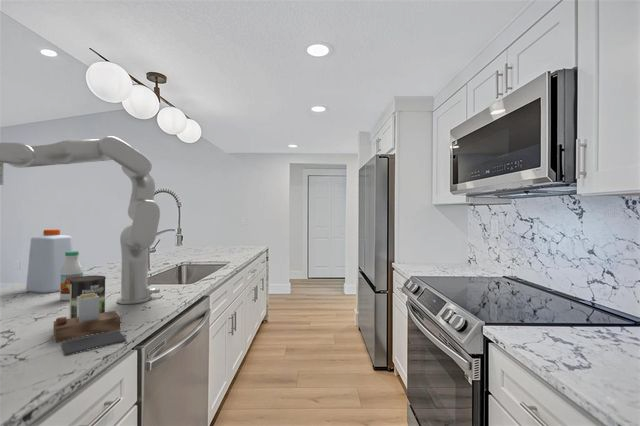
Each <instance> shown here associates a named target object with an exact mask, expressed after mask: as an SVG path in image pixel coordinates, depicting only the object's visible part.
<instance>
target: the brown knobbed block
mask: <svg viewBox="0 0 640 426" xmlns="http://www.w3.org/2000/svg"><path fill="white" fill-rule="evenodd" d="M119 330H121V316H120V314H118V313H117V311H116V310H112V311H110V310H109V311H105V312H104V313H99V319H97V320H92V321H87V322H81V323H79V322H78V320H77V317H76V318H70V317H69V318H67V317H66V316H60V317H57V318H56V319H55V320H54V321H53V337H55V338H54V340H55V343H60V342H59V341H61V342H64V341H63V340H66V341H69V340H68V339H71V340H73V339H72V338H75V339H78V338H77V337H80V338H83V337H82V336H85V337H87V336H86V335H90V336H92V335H91V334H94V335H97V334H96V333H99V334H103V333H102V332H104V333H109V332H114V331H119ZM108 331H109V332H108Z"/></svg>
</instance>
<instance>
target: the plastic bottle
mask: <svg viewBox="0 0 640 426" xmlns="http://www.w3.org/2000/svg"><path fill="white" fill-rule="evenodd" d="M42 233H43V234H42V235H35V236H32V237H31V238H30V245H29V255H28V266H27V275H26V286H25V287H26V288H25V289H26V291H27V292H29V293H39V294H50V293H55V292H60V274H61V269H62V267H63V265H64V263H65V260H66V257H65V252H67V251H74V250H73V238H72V235H69V234H68V235H67V234H66V235H65V234H61V230H60V229H54V228H53V229H43V232H42Z"/></svg>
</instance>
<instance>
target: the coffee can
mask: <svg viewBox="0 0 640 426" xmlns="http://www.w3.org/2000/svg"><path fill="white" fill-rule="evenodd" d="M69 282H70V300H69V319H70V318H76V317H77V296H81V294H88V293H95V294H97V295H98V296H99V313H104V312H106V311H105V310H106V276H105V275H83V276H82V277H76V278H72V279H70V280H69Z"/></svg>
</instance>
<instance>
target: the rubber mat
mask: <svg viewBox="0 0 640 426" xmlns="http://www.w3.org/2000/svg"><path fill="white" fill-rule="evenodd" d="M120 342H121V343H125V342H127V339H126V337H125V336H124V335H123V333H122V332H120V330H114V331H109V332H104V333H99V334H95V335H90V336H85V337H81V338H76V339H71V340H67V341H62V342H61V347H62V350H63V353H64V356H65V357H66V356H70V355H74V354H77V353H76V352H79V353H81V352H80V351H83V352H85V351H84V350H87V349H91V350H93V349H92V348H96V347H100V346H104V347H106V346H105V345H108V346H112V345H111V344H113V345H116V344H115V343H117V344H120ZM100 348H101V347H100ZM96 349H97V348H96ZM87 351H88V350H87ZM73 353H74V354H73Z"/></svg>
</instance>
